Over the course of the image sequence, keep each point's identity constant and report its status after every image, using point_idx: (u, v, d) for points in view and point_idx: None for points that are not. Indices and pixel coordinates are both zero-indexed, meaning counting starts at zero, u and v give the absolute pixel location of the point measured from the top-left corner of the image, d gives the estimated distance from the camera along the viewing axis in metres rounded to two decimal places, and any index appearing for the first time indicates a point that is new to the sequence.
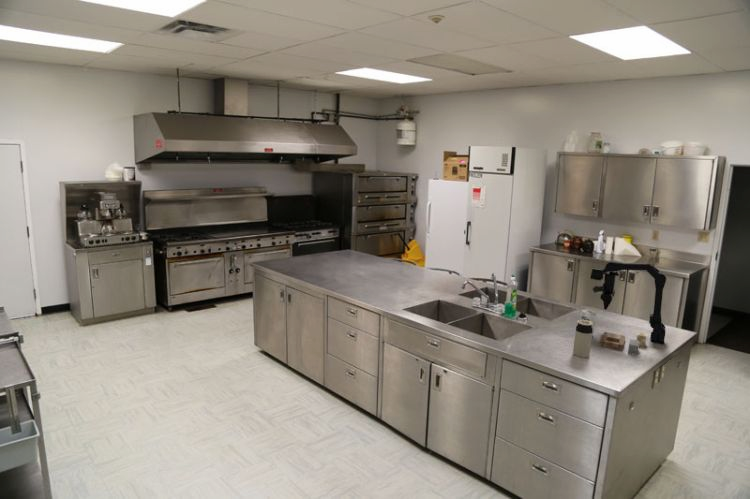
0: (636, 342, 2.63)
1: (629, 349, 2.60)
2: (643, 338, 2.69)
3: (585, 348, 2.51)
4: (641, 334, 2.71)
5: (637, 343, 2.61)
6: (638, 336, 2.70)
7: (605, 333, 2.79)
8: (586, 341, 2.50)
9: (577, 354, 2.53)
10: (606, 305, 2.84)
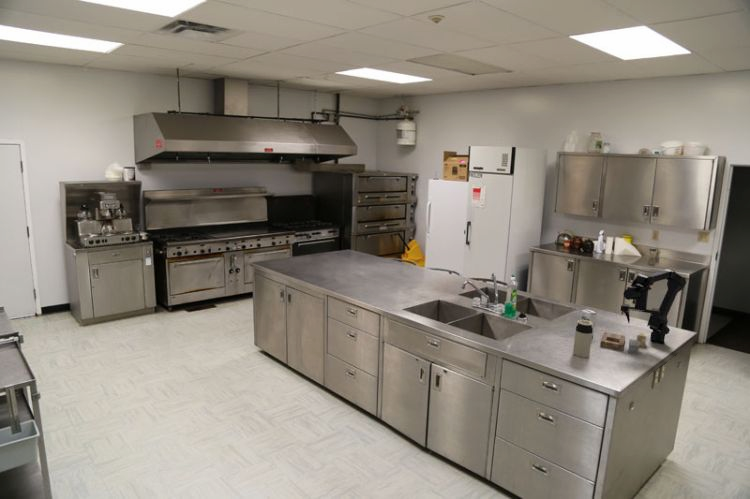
0: (636, 342, 2.63)
1: (629, 349, 2.60)
2: (643, 338, 2.69)
3: (585, 348, 2.51)
4: (641, 334, 2.71)
5: (637, 343, 2.61)
6: (638, 336, 2.70)
7: (605, 333, 2.79)
8: (586, 341, 2.50)
9: (577, 354, 2.53)
10: (627, 318, 2.72)
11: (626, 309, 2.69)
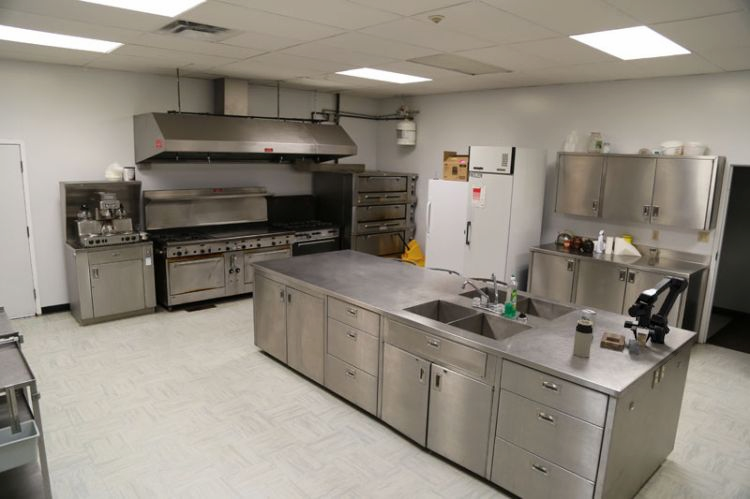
0: (636, 342, 2.63)
1: (630, 349, 2.59)
2: (643, 338, 2.69)
3: (585, 348, 2.51)
4: (641, 334, 2.71)
5: (637, 343, 2.61)
6: (638, 336, 2.70)
7: (605, 333, 2.79)
8: (586, 341, 2.50)
9: (577, 354, 2.53)
10: None
11: (629, 326, 2.71)
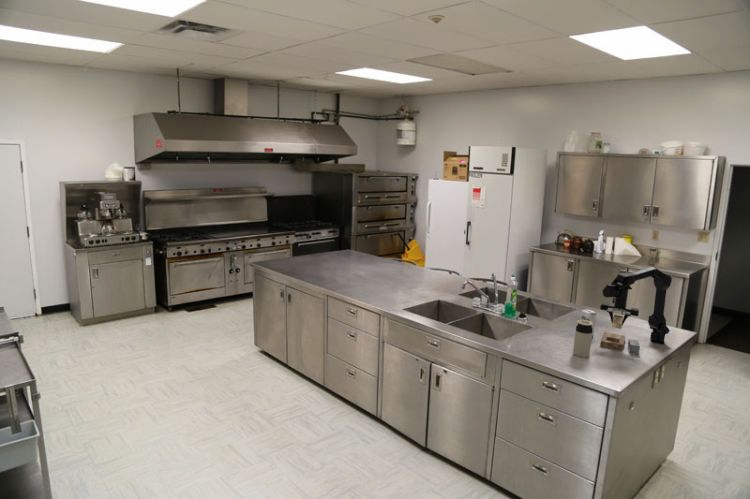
0: (636, 342, 2.63)
1: (630, 349, 2.59)
2: (619, 320, 2.66)
3: (585, 348, 2.51)
4: (617, 316, 2.68)
5: (637, 343, 2.61)
6: (614, 318, 2.67)
7: (605, 333, 2.79)
8: (586, 341, 2.50)
9: (577, 354, 2.53)
10: None
11: (606, 308, 2.67)
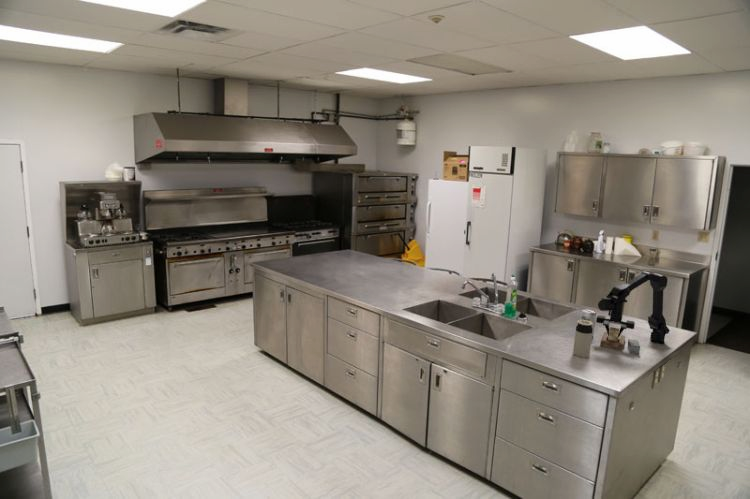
0: (636, 342, 2.63)
1: (631, 349, 2.59)
2: (615, 332, 2.67)
3: (585, 348, 2.51)
4: (613, 329, 2.69)
5: (637, 343, 2.61)
6: (610, 331, 2.68)
7: (605, 333, 2.79)
8: (586, 341, 2.50)
9: (577, 354, 2.53)
10: (607, 330, 2.71)
11: (601, 321, 2.69)
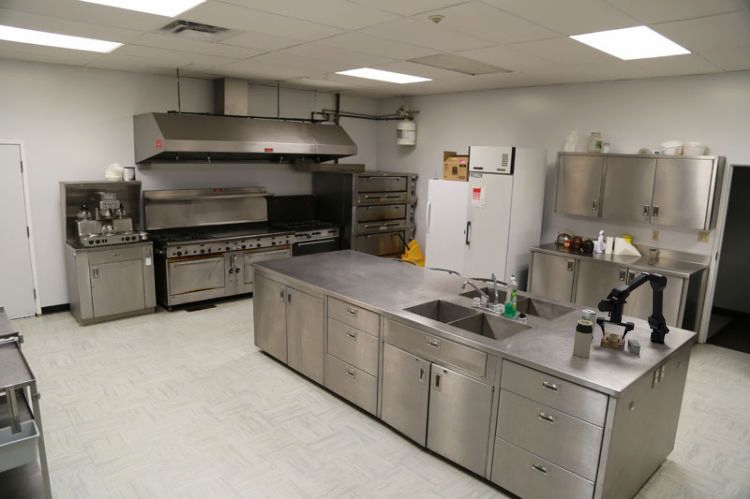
0: (636, 341, 2.63)
1: (631, 350, 2.59)
2: (614, 338, 2.68)
3: (585, 348, 2.51)
4: (613, 334, 2.70)
5: (637, 343, 2.61)
6: (609, 336, 2.69)
7: (605, 333, 2.79)
8: (586, 341, 2.50)
9: (577, 354, 2.53)
10: None
11: (601, 322, 2.69)
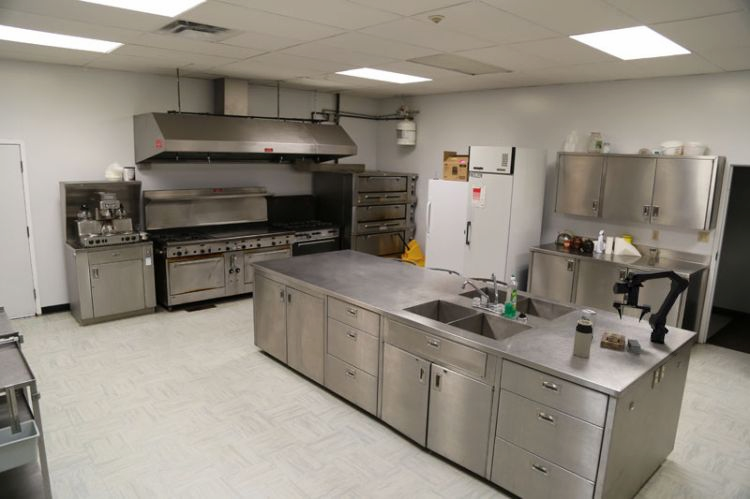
0: (635, 341, 2.63)
1: (631, 350, 2.59)
2: (614, 338, 2.68)
3: (585, 348, 2.51)
4: (613, 334, 2.70)
5: (637, 343, 2.61)
6: (609, 336, 2.69)
7: (605, 333, 2.79)
8: (586, 341, 2.50)
9: (577, 354, 2.53)
10: None
11: (618, 305, 2.75)
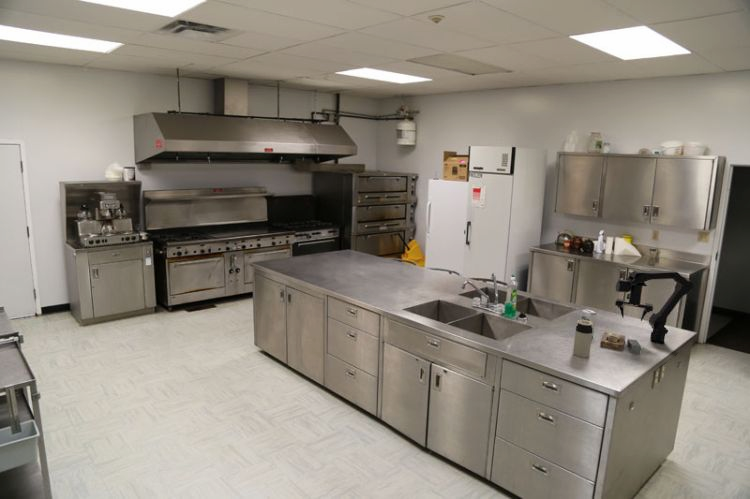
0: (635, 341, 2.63)
1: (632, 350, 2.59)
2: (614, 338, 2.68)
3: (585, 348, 2.51)
4: (613, 334, 2.70)
5: (637, 343, 2.61)
6: (609, 336, 2.69)
7: (605, 333, 2.79)
8: (586, 341, 2.50)
9: (577, 354, 2.53)
10: None
11: (621, 304, 2.76)
